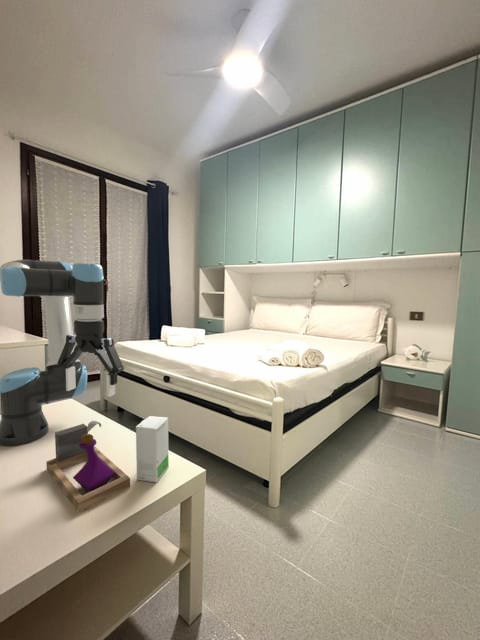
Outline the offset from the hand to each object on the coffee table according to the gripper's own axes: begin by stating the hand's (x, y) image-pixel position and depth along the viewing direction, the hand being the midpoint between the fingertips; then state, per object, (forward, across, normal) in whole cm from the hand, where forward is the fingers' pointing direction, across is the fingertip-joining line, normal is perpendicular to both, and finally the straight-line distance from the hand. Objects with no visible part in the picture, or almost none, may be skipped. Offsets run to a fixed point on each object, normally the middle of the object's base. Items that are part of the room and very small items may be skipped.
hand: (90, 392), depth 86 cm
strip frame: (+23, +2, -5) cm, 24 cm away
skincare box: (+23, +19, +2) cm, 30 cm away
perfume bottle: (+23, +7, -7) cm, 25 cm away
